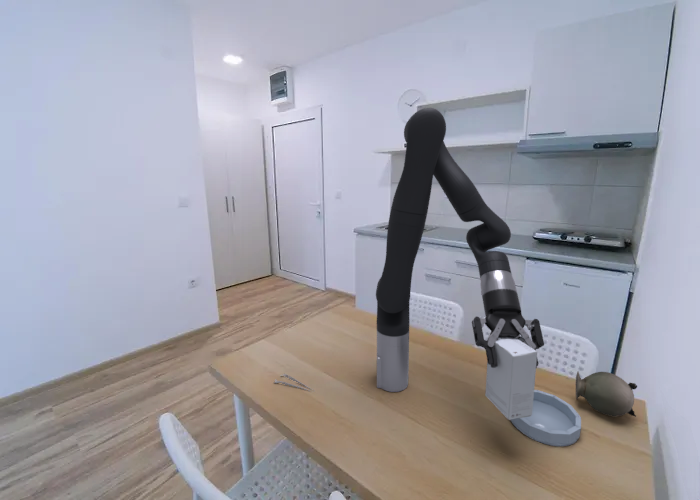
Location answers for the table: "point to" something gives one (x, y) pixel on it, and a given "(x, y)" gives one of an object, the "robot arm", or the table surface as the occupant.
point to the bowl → (550, 421)
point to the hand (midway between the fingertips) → (513, 367)
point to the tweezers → (291, 384)
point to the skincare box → (512, 378)
